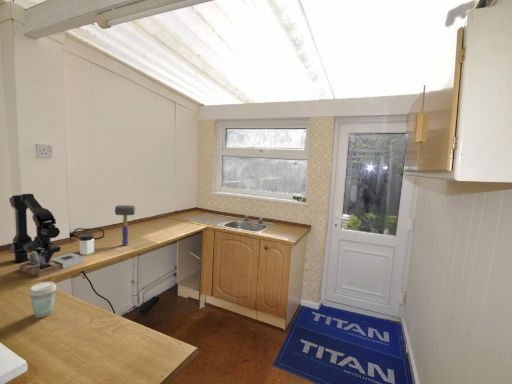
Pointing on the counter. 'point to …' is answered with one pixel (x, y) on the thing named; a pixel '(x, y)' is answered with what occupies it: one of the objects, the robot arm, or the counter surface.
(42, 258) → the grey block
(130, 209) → the rubber mallet
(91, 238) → the jar
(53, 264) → the rack
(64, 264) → the socket
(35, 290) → the coffee cup
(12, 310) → the counter surface
